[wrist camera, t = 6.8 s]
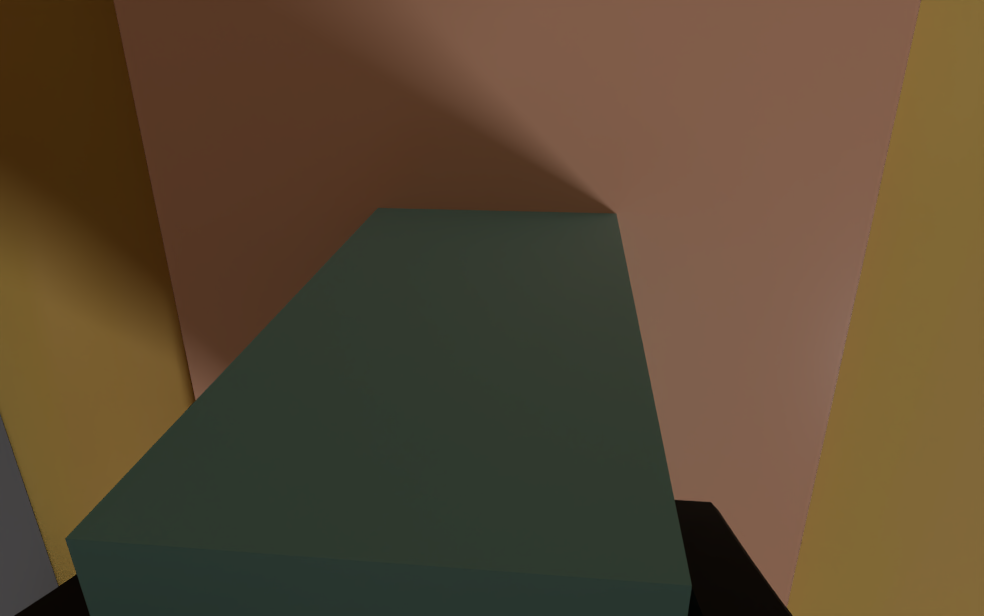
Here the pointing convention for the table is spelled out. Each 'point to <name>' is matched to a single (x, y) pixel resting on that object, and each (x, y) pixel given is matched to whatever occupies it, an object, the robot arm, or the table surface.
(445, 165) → the terracotta tile
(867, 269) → the table surface
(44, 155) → the table surface
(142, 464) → the teal block
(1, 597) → the pocket board
